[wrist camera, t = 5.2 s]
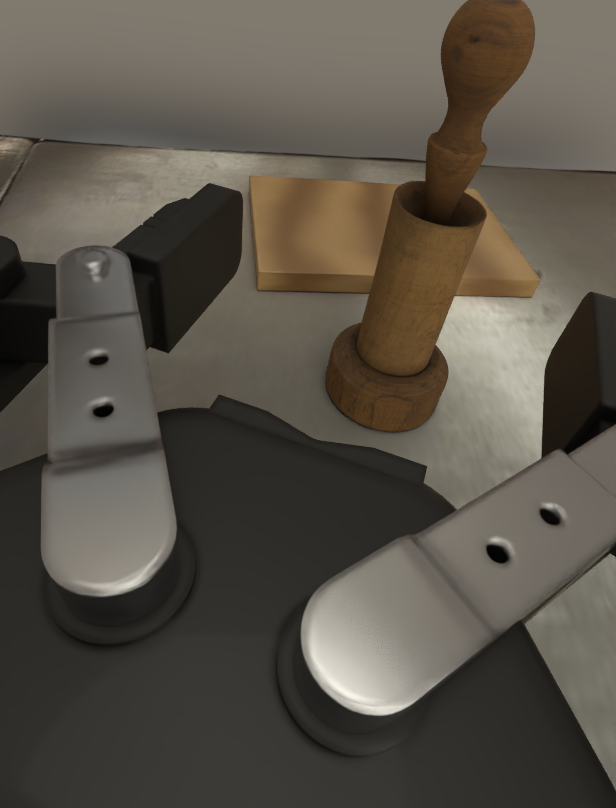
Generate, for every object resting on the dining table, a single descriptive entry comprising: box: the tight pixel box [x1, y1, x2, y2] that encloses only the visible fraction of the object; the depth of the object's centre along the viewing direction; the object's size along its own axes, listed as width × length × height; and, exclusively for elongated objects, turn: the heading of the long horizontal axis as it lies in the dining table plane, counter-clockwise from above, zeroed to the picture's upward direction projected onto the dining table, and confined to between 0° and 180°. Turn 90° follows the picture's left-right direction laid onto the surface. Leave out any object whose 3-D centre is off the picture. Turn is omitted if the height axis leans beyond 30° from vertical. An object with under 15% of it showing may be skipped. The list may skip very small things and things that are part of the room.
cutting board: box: [249, 176, 540, 297], centre depth 41 cm, size 20×14×2 cm
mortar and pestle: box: [326, 0, 535, 431], centre depth 23 cm, size 7×6×18 cm
